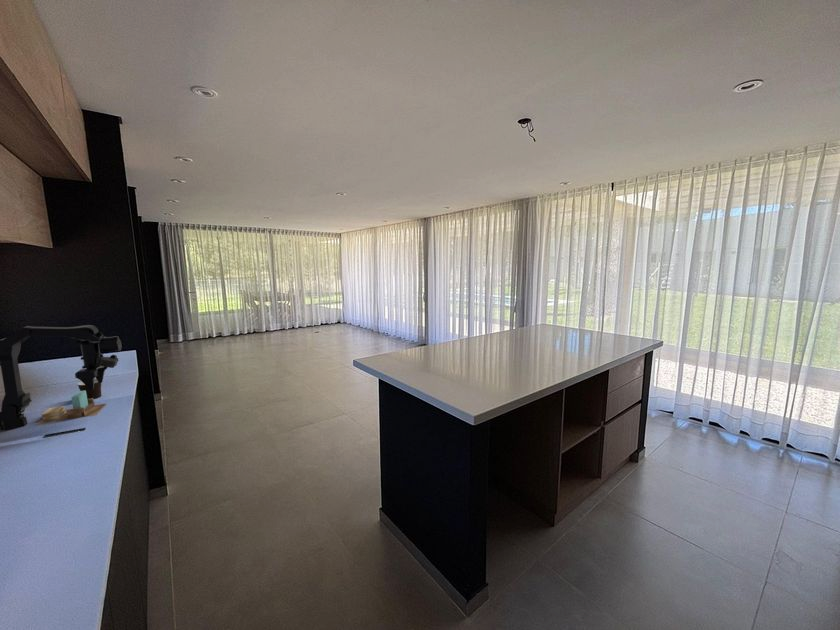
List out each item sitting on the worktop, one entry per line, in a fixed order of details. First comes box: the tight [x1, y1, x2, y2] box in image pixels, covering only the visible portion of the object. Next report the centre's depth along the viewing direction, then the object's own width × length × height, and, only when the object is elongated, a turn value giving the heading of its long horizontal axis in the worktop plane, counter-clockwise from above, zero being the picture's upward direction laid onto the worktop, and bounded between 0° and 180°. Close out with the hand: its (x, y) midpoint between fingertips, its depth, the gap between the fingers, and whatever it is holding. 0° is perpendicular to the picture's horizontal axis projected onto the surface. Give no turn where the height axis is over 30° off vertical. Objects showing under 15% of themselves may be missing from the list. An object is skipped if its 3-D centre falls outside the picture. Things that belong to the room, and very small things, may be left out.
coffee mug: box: [77, 378, 102, 400], centre depth 169 cm, size 12×9×10 cm
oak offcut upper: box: [41, 405, 66, 418], centre depth 150 cm, size 5×7×2 cm
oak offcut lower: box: [42, 408, 66, 421], centre depth 150 cm, size 5×7×2 cm
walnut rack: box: [34, 398, 108, 426], centre depth 153 cm, size 20×14×6 cm
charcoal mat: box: [42, 427, 86, 439], centre depth 143 cm, size 12×11×1 cm
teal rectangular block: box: [70, 390, 88, 409], centre depth 154 cm, size 2×8×9 cm, turn 28°
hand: (96, 386), depth 152 cm, fingers open, 9 cm apart
